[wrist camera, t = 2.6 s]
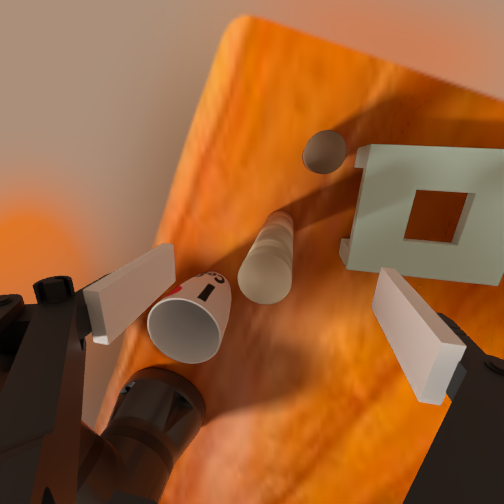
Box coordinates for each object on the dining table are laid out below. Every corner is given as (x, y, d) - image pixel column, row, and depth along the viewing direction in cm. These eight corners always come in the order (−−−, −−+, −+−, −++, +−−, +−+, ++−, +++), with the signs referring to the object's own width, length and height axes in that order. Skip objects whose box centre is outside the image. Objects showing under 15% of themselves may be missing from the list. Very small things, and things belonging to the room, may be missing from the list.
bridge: (338, 253, 30) (346, 269, 26) (357, 147, 26) (371, 143, 21) (464, 266, 28) (498, 286, 24) (506, 154, 24) (556, 151, 20)
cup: (238, 260, 33) (215, 298, 23) (244, 313, 35) (225, 366, 26) (181, 262, 34) (139, 297, 25) (191, 312, 37) (155, 362, 27)
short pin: (300, 171, 28) (302, 172, 21) (304, 138, 27) (307, 129, 20) (331, 173, 27) (342, 175, 21) (336, 139, 26) (350, 131, 20)
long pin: (265, 236, 31) (236, 300, 16) (267, 209, 30) (238, 252, 15) (292, 238, 31) (289, 307, 16) (295, 211, 29) (294, 258, 15)
